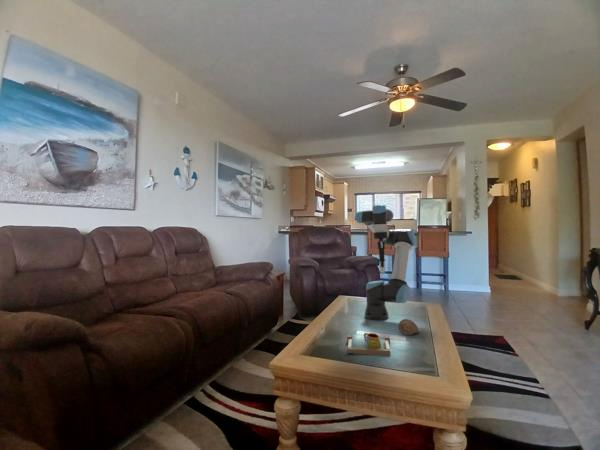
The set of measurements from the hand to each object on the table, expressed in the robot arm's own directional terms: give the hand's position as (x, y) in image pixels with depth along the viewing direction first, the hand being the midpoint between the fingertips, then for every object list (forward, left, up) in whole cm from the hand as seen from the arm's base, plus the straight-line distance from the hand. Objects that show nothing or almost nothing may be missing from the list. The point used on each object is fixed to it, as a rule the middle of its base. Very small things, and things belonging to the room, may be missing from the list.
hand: (382, 272), depth 173 cm
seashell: (+6, +12, -33) cm, 35 cm away
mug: (+29, -9, -33) cm, 44 cm away
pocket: (+30, -10, -32) cm, 45 cm away
